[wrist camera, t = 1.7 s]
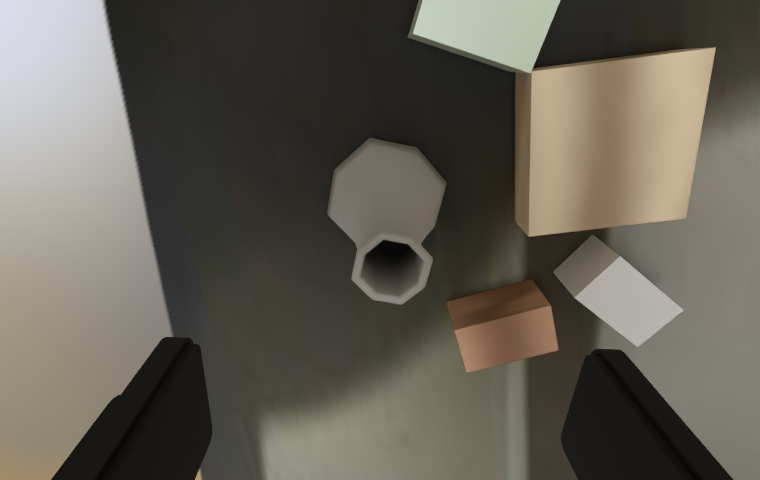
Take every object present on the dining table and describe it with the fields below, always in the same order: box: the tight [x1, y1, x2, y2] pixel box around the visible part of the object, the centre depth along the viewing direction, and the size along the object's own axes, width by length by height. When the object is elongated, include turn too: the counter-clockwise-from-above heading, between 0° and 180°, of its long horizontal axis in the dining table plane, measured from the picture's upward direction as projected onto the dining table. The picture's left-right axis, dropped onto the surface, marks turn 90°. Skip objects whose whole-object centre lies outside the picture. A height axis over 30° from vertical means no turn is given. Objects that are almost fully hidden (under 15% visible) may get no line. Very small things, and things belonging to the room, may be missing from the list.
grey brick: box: [553, 234, 683, 347], centre depth 27 cm, size 6×4×4 cm, turn 52°
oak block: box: [515, 48, 716, 237], centre depth 24 cm, size 9×9×3 cm
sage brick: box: [408, 0, 560, 73], centre depth 21 cm, size 6×4×4 cm, turn 73°
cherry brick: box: [446, 279, 558, 373], centre depth 28 cm, size 6×4×4 cm, turn 107°
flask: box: [327, 138, 447, 305], centre depth 21 cm, size 7×7×10 cm
